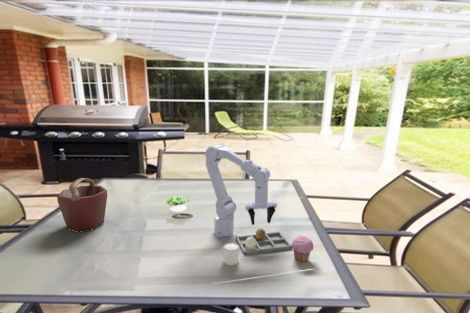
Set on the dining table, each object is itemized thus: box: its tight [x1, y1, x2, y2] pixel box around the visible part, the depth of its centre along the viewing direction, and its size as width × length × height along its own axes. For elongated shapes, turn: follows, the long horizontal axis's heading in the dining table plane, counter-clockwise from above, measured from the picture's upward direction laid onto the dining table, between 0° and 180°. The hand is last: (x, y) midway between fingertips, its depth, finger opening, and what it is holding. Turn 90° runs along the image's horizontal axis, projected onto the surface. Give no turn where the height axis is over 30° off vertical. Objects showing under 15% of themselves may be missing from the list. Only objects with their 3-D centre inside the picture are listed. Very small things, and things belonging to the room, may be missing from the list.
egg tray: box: [235, 231, 293, 256], centre depth 141 cm, size 22×15×2 cm
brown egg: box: [255, 228, 266, 241], centre depth 144 cm, size 4×4×6 cm
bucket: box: [56, 177, 108, 233], centre depth 160 cm, size 24×22×25 cm
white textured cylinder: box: [222, 242, 240, 266], centre depth 126 cm, size 7×7×7 cm
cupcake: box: [291, 235, 314, 263], centre depth 128 cm, size 9×9×10 cm
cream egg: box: [246, 237, 256, 251], centre depth 136 cm, size 4×4×6 cm
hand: (260, 223), depth 143 cm, fingers open, 7 cm apart
